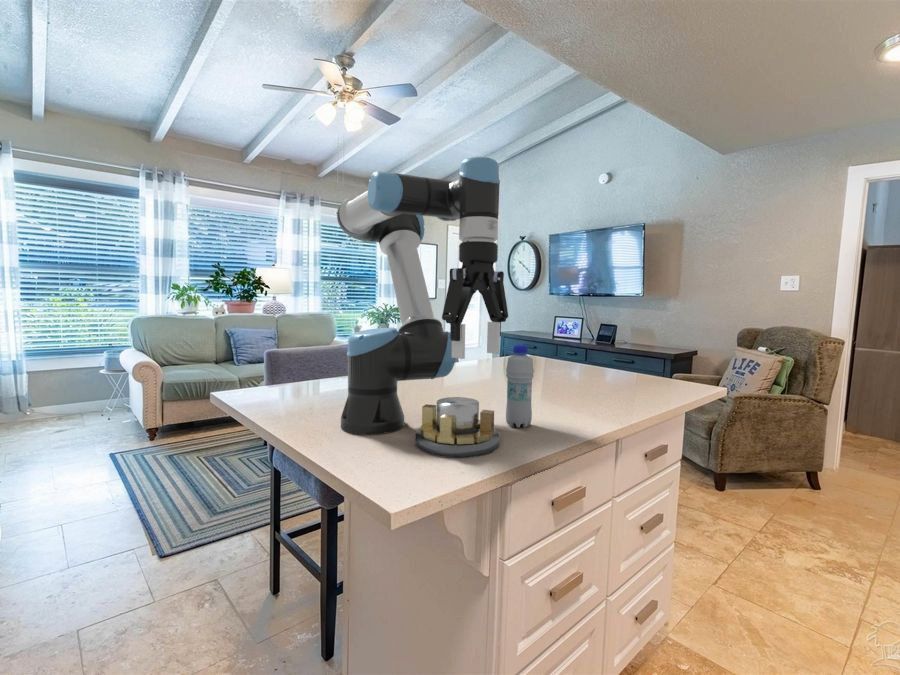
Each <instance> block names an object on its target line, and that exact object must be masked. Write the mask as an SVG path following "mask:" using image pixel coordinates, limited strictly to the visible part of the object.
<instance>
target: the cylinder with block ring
mask: <svg viewBox="0 0 900 675" xmlns="http://www.w3.org/2000/svg"><path fill="white" fill-rule="evenodd" d="M479 412H480V413H479V428H478V429H480V432H476V433H472V434H463V435H455V415H447V414H444V415H442V416H441V417H440V432H438V431H435V429H436V426H437V404H424V405H423V406H422V407H421V424H420V428H421V434H422V436H423V437H424V438H426V439H429V440H432V441H434V442H436V441H437V442H438V443H447V444H455V443H456V444H474V442H475V443H479V442H483V441H486V440H489V439H491V438H492V436H493V435H494V430H495V410H492V409H490V410H489V409H482V410H481V411H479Z"/></svg>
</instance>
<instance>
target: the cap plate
mask: <svg viewBox="0 0 900 675" xmlns="http://www.w3.org/2000/svg"><path fill="white" fill-rule="evenodd" d="M479 412H480V401H479V400H477V399H475V398H471V397H470V398H469V397H465V396H464V397H463V396H461V397H460V396H449V397H444V398H443V397H442V398H439V399H438V400H436V419H437V426H436V429H435V431H438V432H440V417H441V416H442V415H444V414H447V415H455V435H463V434H472V433H476V432H480V429H478V428H479V420H480V413H479ZM414 435H415V437H414V439H415V441H414V442H415V446H416V448H417V449H418V450H419V451H422V452H424V453H426V454H429V455H432V456H437V457H440V458H441V457H443V458H454V459H456V458H457V459H466V458H467V459H468V458H476V457H482V456H486V455H489V454H491V453H493V452H495V451H497V450H498V449H499V448H500V434H499V431H498V430H496V429H494V435H493V436H492V438H491V439H489V440H486V441H483V442H479V443H475V442H474V444H456V443H455V444H447V443H438V442H437V441H436V442H434V441H432V440H429V439H426V438H424V437H423V436H422V434H421V427H420V428H419V429H417V430H416V431H415V433H414Z"/></svg>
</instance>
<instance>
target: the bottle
mask: <svg viewBox="0 0 900 675" xmlns="http://www.w3.org/2000/svg"><path fill="white" fill-rule="evenodd" d="M528 351H529V350H528V347H527V345H524V344H516V345H514V346H513V349H512V352H513V353H512V355H511V356H509V357H508V358H507V362H506V369H505V372H506V379H507V383H506V384H507V385H506V386H507V387H506V390H507V391H506V407H505V421H506V423H507V425H509V426H510V427H511V428H513V427H514V426H516V428H517V429H519V428H520V427H521V425H522V428H524V429H525V428H527V427H529V426H530V425H531V423H532V421H533V420H532V417H533V415H532V414H533V411H532V393H533V390H532V388H533V378H534V372H535V370H534V369H535V368H534V362H533V360H534V359H533V357H530V356H529V355H528Z"/></svg>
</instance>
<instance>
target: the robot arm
mask: <svg viewBox="0 0 900 675" xmlns="http://www.w3.org/2000/svg"><path fill="white" fill-rule="evenodd" d="M459 168H460V169H459V173H458V174H459V178H457V179H455V180H448V179H447V180H445V179H440V178H432V177H424V176H423V177H422V176H417V175H411V174H410V175H409V174H402V173H398V172H393V171H375V172H373V173H372V174H371V175H370V179H369V181H368V185H367V191H364V192H363V193H362V194H360V195H356V196H355V195H354V196H350V197H348V198H346V199H345V200H344V201H342V202H341V204H339V206H338V208H337V213H336V219H337V222H338V225H339V227H340V229H341V230H342V231H343V232H344V233H345V234H346V235H348V236H349V237H351V238H353V239H355V240H357V241H361V242H367V243H368V242H369V243H378V244H379V249H380V251H381V252H382V254H385V255H386V257H387V261H388V267H389V271H390V274H391V279H392V283H393V284H392V285H393V290H394V294H395V298H396V303H397V307H398V312H399V318H400V323H401V326H400V327H399V328H395V327H382V328H381V327H378V328H377V327H376V328H369V329H364V330H361V331H356V332H353V333H352V334H351V335H350V336H349V338H348V339H347V340H348V341H347V349H346V350H347V352H346V356H347V398H346V400H345V404H344V406H343V410H342V413H341V416H340V428H341V430H343V431H345V432H348V433H350V434H357V435H381V434H388V433H394V432H397V431H399V430H401V429H403V428H404V426H405V414H404V411H403V408H402V405H401V401H400V398H399V395H398V382H399V381H414V380H417V381H418V380H428V379H429V380H433V379H439V378H445V377H447V376H448V375H449V374H450V373H451V372H452V370H453V369H454V366H455V363H456V359H459V360H463V359H464V360H465V359H466V354H465V353H466V324H465V323H463V321H464V318H465V316H466V314H467V311H468V309H469V306H470V303H471V301H472V298H473V296H474V294H476V293H477V292H478V293H479V294H481V297H482V300H483V302H484V305H485V308H486V311H487V314H488V317H489V320H490V321H487V328H486V329H487V333H486V334H487V335H486V341H487V342H486V353H487V354H492V355H493V354H495V355H499V354H500V350H501V348H500V345H501V344H500V343H501V335H502V323H505V322H506V321H507V319H508V318H509V311H508V304H507V303H508V302H507V299H506V292H505V285H504V277H505V273H504V271H501V270H500V271H499V270H498V271H495V269H494V264H496V263H497V262H498V257H499V256H498V253H499V252H498V250H499V248H498V247H499V245H498V243H497V242H496V241H498V238H499V234H498V233H499V209H500V207H499V206H500V186H501V185H500V183H501V180H500V166H499V162H498V161H497V160H496V159H493V158H491V157H485V156H472V157H467V158H465V159H463V160H462V161H461V163H460V167H459ZM424 217H432V218H433V217H435V218H437V219H438V220H440V221H442V222H455V221H457V220H459V223H458V224H459V225H458V226H459V228H458V229H459V230H458V231H459V232H458V233H459V234H458V239H459V240H460V241H461V242H460V244H459V246H458V260H459V262H460V263H462V264H461V265H462V266H461V267H459V268H458V267H457V268H456V267H454V268H450V269H449V282H448V287H447V292H446V297H445V301H444V305H443V310H442V315H441V319H442V321H445V322H446V324H450V328H449V329H450V331H448V330H447V331H444V327H443V323H442V322H441V321H440V320H439V319H438V318H435V316H434V312H433V306H432V304H431V301H430V295H429V292H428V288H427V283H426V279H425V276H424V272H423V268H422V264H421V260H420V255H419V251H418V248H419V247H420V245H421V243H422V241H423V240H424V237H425V227H424V226H425V220H424Z"/></svg>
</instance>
